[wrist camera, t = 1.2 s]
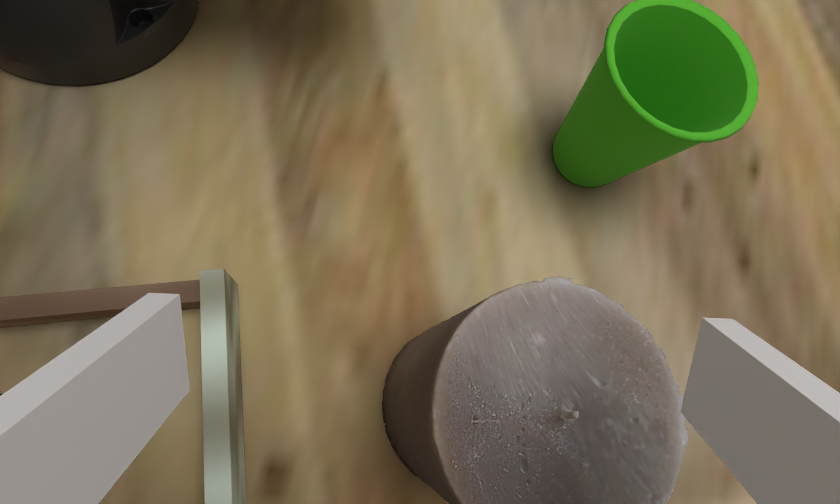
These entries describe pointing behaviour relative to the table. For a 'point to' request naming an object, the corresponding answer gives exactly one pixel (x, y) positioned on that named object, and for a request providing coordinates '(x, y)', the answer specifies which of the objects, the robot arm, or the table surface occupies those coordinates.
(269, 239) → the table surface
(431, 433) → the pillar candle
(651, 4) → the cup
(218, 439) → the trap lane
